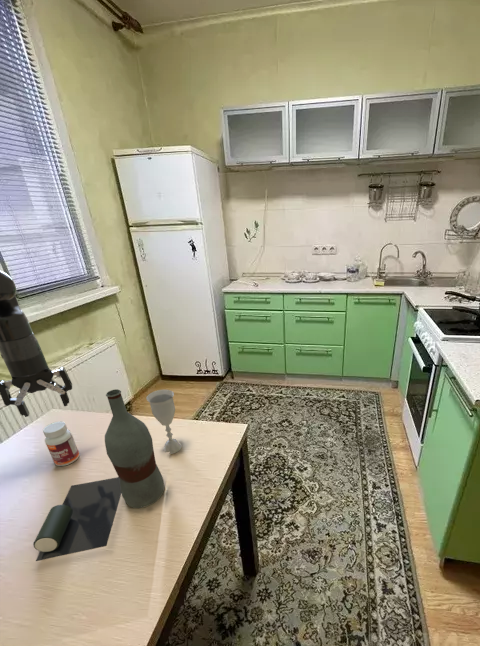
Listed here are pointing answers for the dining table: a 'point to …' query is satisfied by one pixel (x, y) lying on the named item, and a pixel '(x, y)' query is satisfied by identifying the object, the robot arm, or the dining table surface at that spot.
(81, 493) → the slate board
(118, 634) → the dining table surface
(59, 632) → the dining table surface
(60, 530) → the sushi roll
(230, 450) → the dining table surface
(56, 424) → the pill bottle
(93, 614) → the dining table surface
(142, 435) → the vodka
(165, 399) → the chalice
